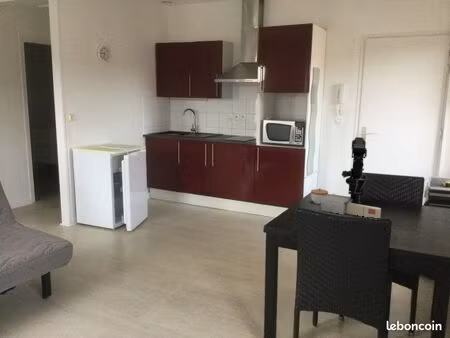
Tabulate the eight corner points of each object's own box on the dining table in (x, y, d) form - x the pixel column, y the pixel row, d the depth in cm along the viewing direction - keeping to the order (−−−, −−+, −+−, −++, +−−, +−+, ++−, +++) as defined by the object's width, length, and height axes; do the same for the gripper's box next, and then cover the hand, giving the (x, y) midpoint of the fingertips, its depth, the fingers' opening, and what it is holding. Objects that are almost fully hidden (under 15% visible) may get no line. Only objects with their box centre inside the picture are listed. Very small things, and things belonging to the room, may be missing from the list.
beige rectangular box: (348, 212, 243) (348, 202, 242) (380, 218, 231) (381, 208, 230) (345, 213, 241) (346, 203, 239) (378, 219, 229) (379, 209, 228)
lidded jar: (323, 206, 256) (324, 191, 255) (307, 203, 263) (308, 188, 261) (330, 202, 265) (331, 188, 263) (314, 199, 271) (315, 185, 269)
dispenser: (328, 206, 255) (329, 195, 253) (351, 211, 246) (352, 199, 244) (320, 210, 246) (321, 198, 245) (344, 215, 237) (345, 202, 236)
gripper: (350, 163, 250) (349, 188, 253) (337, 167, 236) (336, 193, 239) (368, 165, 243) (366, 190, 246) (356, 169, 229) (354, 196, 232)
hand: (355, 192), depth 241 cm, fingers open, 9 cm apart
